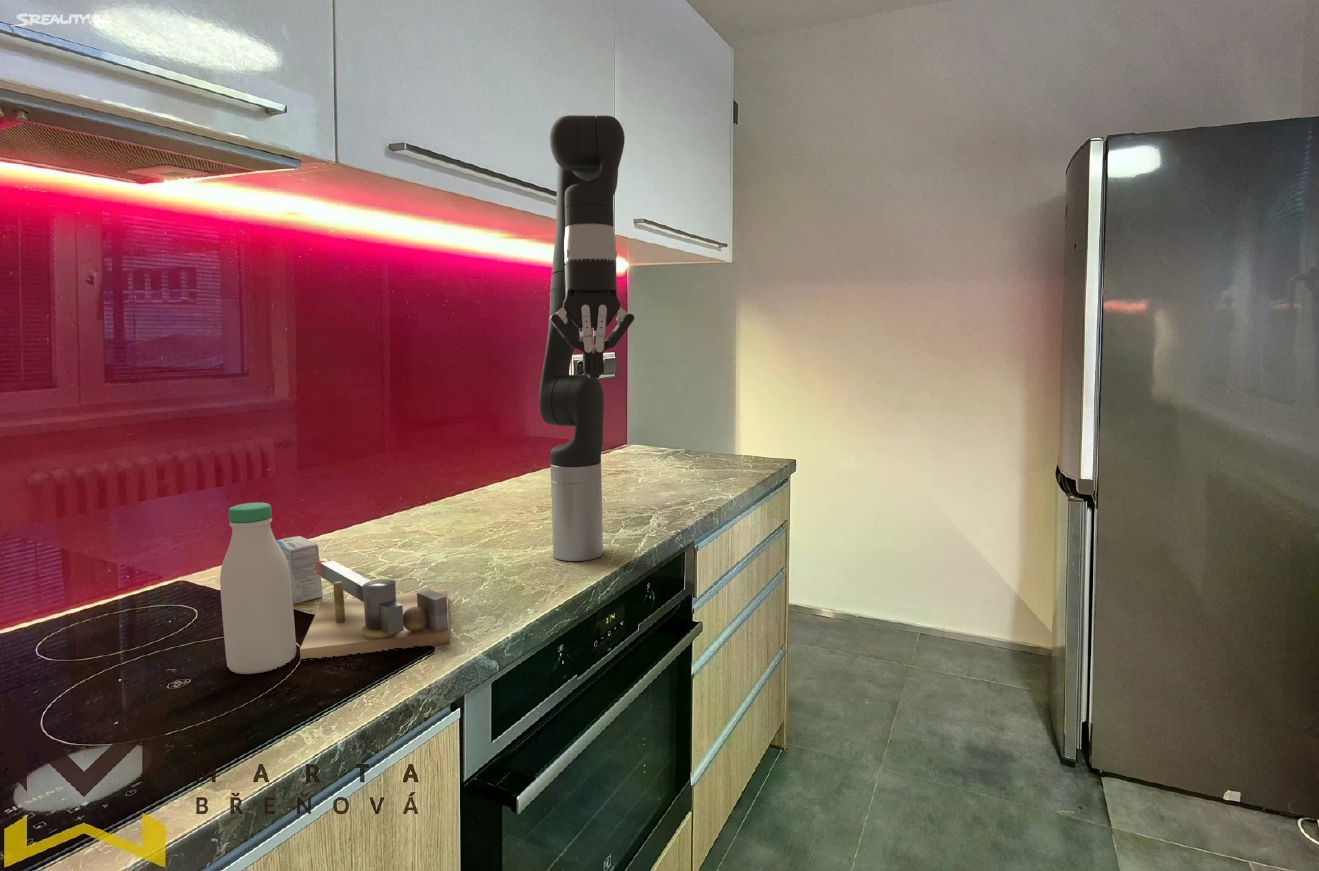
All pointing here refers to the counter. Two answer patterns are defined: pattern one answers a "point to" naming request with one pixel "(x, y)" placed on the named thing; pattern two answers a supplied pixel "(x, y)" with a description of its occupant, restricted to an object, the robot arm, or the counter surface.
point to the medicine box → (302, 568)
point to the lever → (367, 595)
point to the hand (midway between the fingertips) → (593, 377)
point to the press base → (346, 632)
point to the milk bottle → (256, 594)
